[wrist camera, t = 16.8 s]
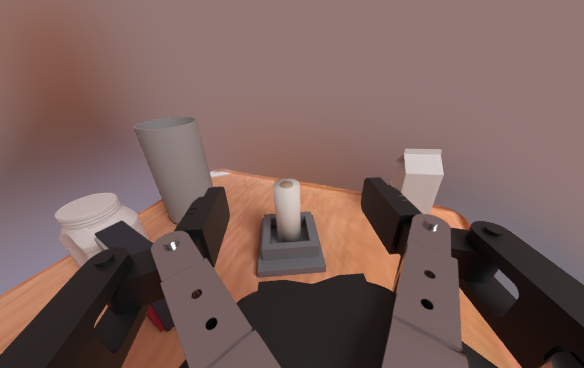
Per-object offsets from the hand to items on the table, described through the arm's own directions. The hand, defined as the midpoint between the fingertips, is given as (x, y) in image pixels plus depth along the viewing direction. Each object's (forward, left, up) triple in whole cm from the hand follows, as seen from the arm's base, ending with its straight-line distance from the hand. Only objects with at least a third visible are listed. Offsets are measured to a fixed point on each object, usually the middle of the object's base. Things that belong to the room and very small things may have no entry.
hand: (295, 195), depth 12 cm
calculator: (-23, +12, -28) cm, 38 cm away
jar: (-35, +22, -28) cm, 50 cm away
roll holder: (0, +24, -28) cm, 37 cm away
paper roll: (0, +24, -26) cm, 36 cm away
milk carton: (+29, +29, -28) cm, 50 cm away
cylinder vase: (-26, +39, -28) cm, 55 cm away
